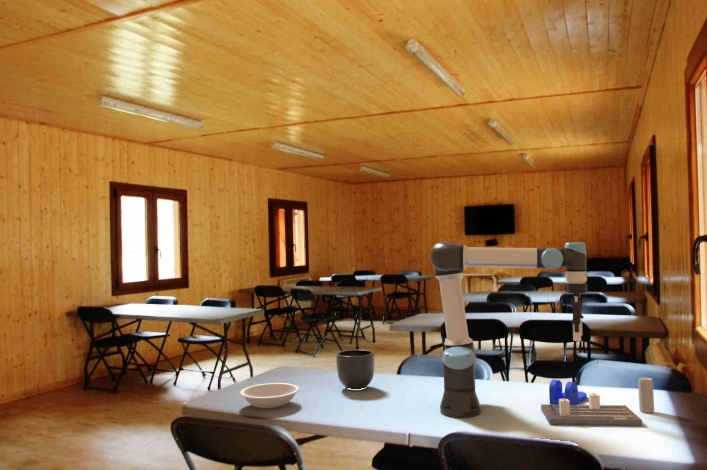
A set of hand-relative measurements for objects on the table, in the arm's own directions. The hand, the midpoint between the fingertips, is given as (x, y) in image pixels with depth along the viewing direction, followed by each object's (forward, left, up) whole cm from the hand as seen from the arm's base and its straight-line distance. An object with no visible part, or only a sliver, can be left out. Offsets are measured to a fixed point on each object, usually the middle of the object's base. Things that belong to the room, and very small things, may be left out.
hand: (577, 338), depth 219 cm
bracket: (-2, +8, -26) cm, 28 cm away
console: (0, -14, -26) cm, 30 cm away
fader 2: (+3, -10, -24) cm, 26 cm away
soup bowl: (-121, -4, -26) cm, 124 cm away
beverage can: (+22, -6, -26) cm, 35 cm away
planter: (-90, +25, -26) cm, 97 cm away
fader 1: (-9, -18, -24) cm, 31 cm away
